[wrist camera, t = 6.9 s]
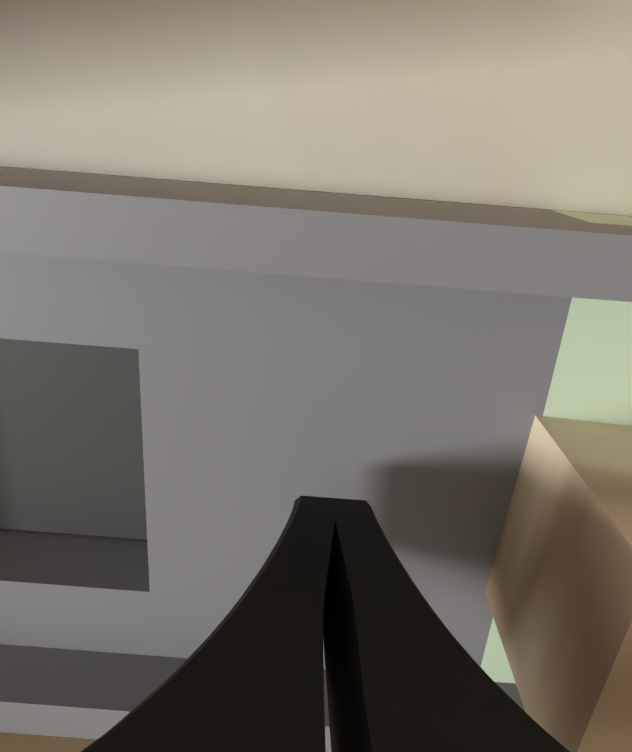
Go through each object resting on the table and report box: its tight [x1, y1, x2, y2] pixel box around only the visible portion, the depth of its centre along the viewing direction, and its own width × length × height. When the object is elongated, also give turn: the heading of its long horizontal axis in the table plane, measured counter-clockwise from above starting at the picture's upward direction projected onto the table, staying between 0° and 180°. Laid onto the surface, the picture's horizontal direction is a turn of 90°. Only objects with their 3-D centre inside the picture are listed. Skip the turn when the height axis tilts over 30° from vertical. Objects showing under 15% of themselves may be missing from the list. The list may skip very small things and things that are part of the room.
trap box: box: [0, 167, 632, 752], centre depth 12 cm, size 12×32×4 cm, turn 86°
